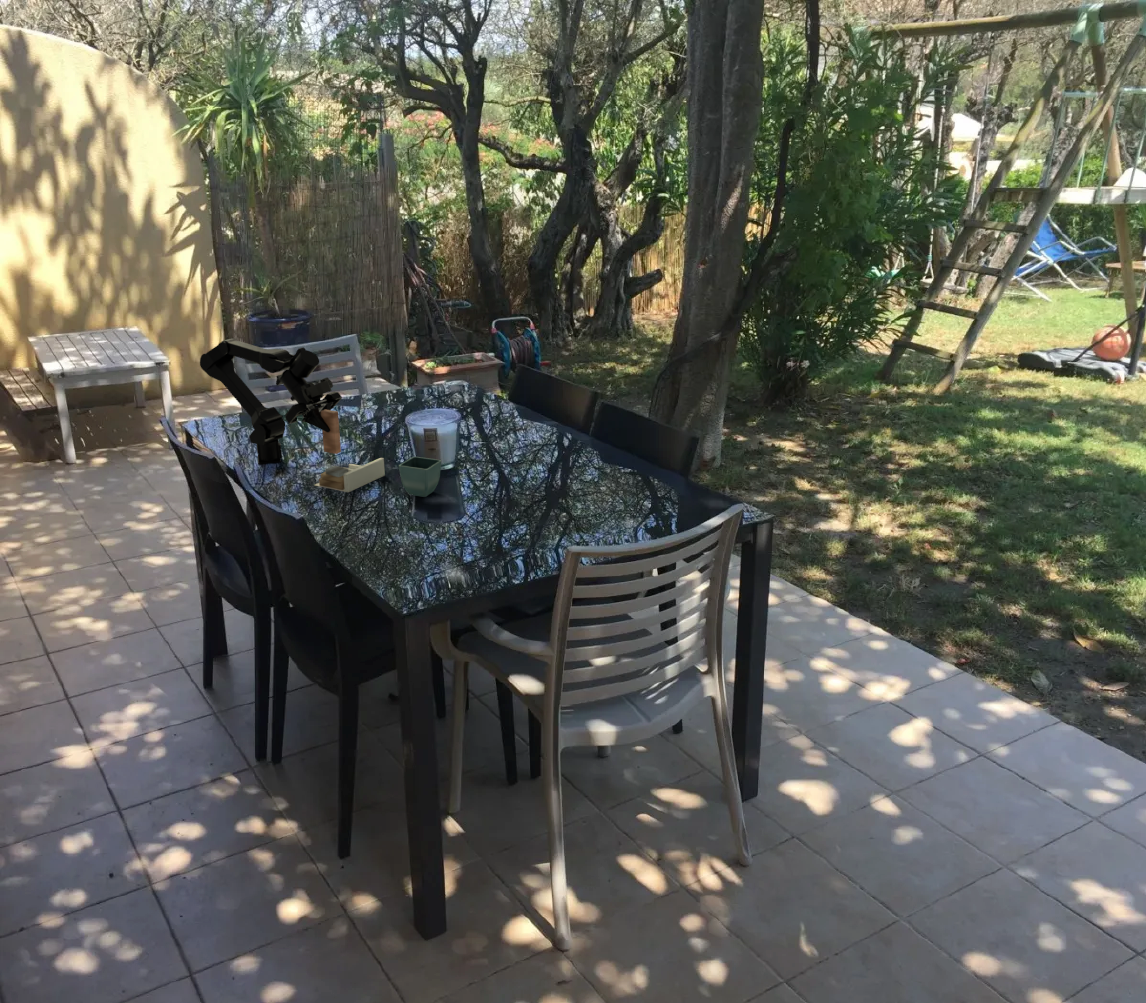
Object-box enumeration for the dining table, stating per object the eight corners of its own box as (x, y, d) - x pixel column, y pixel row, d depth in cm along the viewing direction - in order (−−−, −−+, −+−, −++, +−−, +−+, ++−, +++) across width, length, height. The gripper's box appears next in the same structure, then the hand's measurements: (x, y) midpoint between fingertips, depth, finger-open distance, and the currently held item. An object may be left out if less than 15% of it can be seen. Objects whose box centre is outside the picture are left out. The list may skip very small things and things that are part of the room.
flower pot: (443, 490, 273) (442, 459, 270) (428, 501, 265) (427, 469, 262) (414, 486, 276) (413, 456, 272) (399, 496, 268) (397, 465, 265)
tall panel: (324, 451, 283) (320, 411, 279) (328, 449, 285) (325, 409, 280) (336, 453, 281) (333, 413, 277) (341, 452, 283) (337, 411, 279)
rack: (314, 488, 273) (312, 467, 271) (351, 471, 287) (350, 452, 284) (348, 495, 268) (346, 474, 266) (384, 478, 282) (383, 458, 279)
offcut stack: (319, 485, 273) (317, 468, 271) (332, 479, 277) (330, 463, 276) (342, 490, 269) (340, 473, 268) (354, 484, 274) (353, 467, 272)
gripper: (289, 377, 269) (324, 421, 268) (334, 363, 285) (367, 406, 284) (270, 401, 275) (304, 445, 274) (315, 387, 291) (347, 428, 290)
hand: (331, 430), depth 280 cm, fingers closed on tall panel, 2 cm apart
